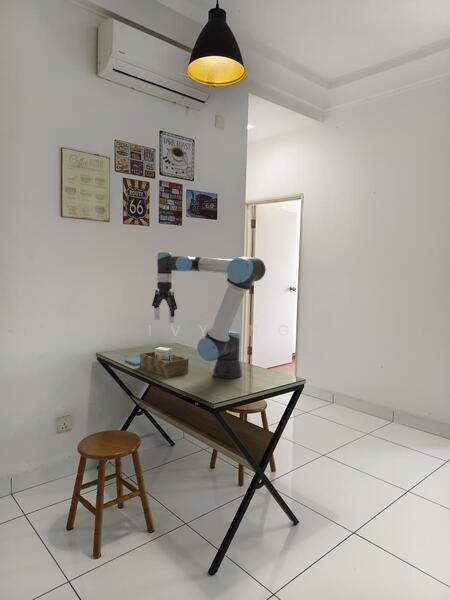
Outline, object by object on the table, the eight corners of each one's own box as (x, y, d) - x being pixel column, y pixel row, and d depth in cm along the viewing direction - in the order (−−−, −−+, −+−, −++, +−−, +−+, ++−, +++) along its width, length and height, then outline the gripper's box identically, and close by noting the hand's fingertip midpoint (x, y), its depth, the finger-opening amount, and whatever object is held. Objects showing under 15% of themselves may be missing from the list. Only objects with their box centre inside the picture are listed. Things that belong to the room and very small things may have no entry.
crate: (188, 372, 221) (188, 358, 220) (166, 377, 211) (167, 362, 211) (160, 363, 239) (160, 350, 239) (140, 367, 230) (140, 353, 229)
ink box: (154, 369, 225) (154, 348, 224) (159, 367, 230) (160, 346, 228) (167, 372, 221) (167, 350, 220) (173, 370, 226) (173, 348, 224)
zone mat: (154, 362, 241) (154, 360, 241) (135, 365, 233) (135, 363, 233) (143, 358, 250) (143, 356, 250) (125, 361, 242) (125, 359, 242)
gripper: (184, 282, 215) (183, 323, 217) (157, 280, 233) (157, 318, 235) (172, 282, 210) (171, 324, 212) (145, 280, 228) (145, 319, 230)
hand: (164, 321), depth 223 cm, fingers open, 13 cm apart
